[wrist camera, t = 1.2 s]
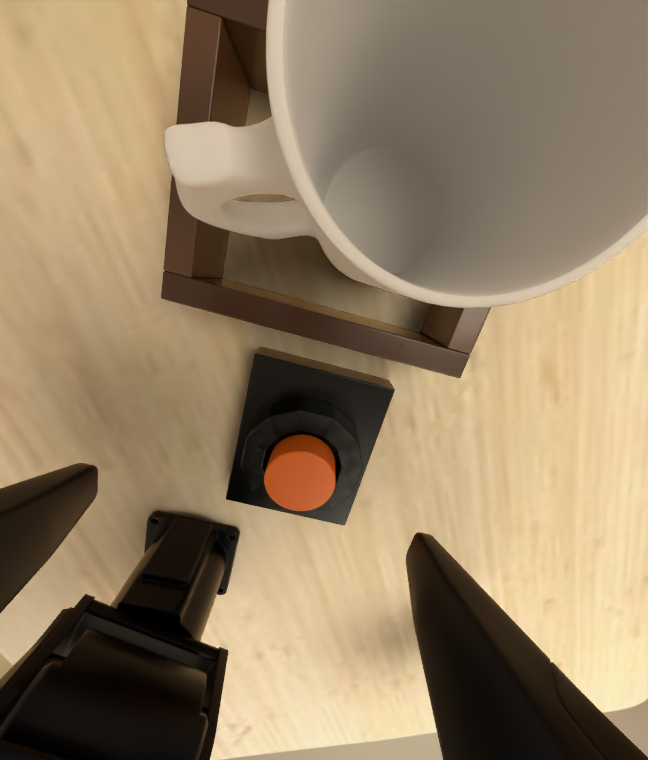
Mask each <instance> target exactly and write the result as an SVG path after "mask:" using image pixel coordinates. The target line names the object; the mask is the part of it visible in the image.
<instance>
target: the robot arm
mask: <svg viewBox="0 0 648 760" xmlns="http://www.w3.org/2000/svg"><path fill="white" fill-rule="evenodd" d="M97 490H98V469H97V467H96V466H94V465H89V464H85V463H78V464H74V465H71V466H68V467H65V468H62V469H59V470H56V471H53V472H50V473H47V474H44V475H41V476H37V477H34V478H31V479H28V480H25V481H22V482H19V483H16V484H13V485H10V486H7V487H4V488H1V489H0V613H1V612H2V611H3V610H4V608H5V607H6V606H7V605H8V604H9V603H10V602H11V601H12V600H13V598H14V597H15V596H16V595H17V594H18V593H19V592H20V591H21V590H22V588H23V587H24V586H25V585H26V584H27V583H28V582H29V581H30V580H31V578H32V577H33V576H34V575H35V574H36V573H37V572H38V571H39V569H40V568H41V567H42V566H43V565H44V564H45V563H46V562H47V560H48V559H49V558H50V557H51V556H52V554H53V553H54V552H55V551H56V549H57V548H58V547H59V546H60V544H61V543H62V542H63V540H64V539H65V538H66V536H67V535H68V534H69V532H70V531H71V530H72V528H73V527H74V526H75V524H76V523H77V522H78V520H79V519H80V518H81V516H82V515H83V514H84V512H85V511H86V510H87V508H88V507H89V506H90V504H91V503H92V502H93V500H94V499H95V497H96V495H97ZM232 535H233V536H232ZM239 535H240V532H239V530H237V529H236V528H232V527H227V526H223V525H218V524H213V523H209V522H204V521H199V520H195V519H190V518H185V517H181V516H176V515H171V514H167V513H162V512H153V513H152V514H151V515H150V516H149V518H148V522H147V532H146V543H145V553H144V556H143V557H142V559H141V560H140V562H139V563H138V565H137V566H136V568H135V569H134V571H133V572H132V574H131V575H130V577H129V578H128V580H127V581H126V583H125V584H124V586H123V587H122V589H121V590H120V592H119V593H118V595H117V596H116V598H115V600H114V601H113V603H112V604H111V606H109V605H107V604H104V603H102V602H99V601H97V600H94V599H95V597H92V596H90V595H87V594H85V595H84V596H83V598H82V599H81V600H80V601H79V602H78V604H77V605H76V606H75V607H74V608H71V607H70V608H69V609H63V610H62V611H61V612H60V614H59V615H58V616H57V617H56V619H55V620H54V621H53V622H52V624H51V625H50V626H49V627H48V629H47V630H46V631H45V632H44V634H43V635H42V636H41V637H40V638H39V640H38V641H37V642H36V643H35V644H34V645H33V646H32V648H31V649H30V650H29V651H28V652H27V653H26V654H25V655H24V656H23V657H22V658H21V659H20V660H19V661H18V662H17V663H16V664H15V665H14V666H13V667H12V668H11V669H10V670H9V671H8V672H7V673H6V674H5V675H4V676H3V677H2V678H1V679H0V760H210V756H211V752H212V748H213V744H214V739H215V734H216V728H217V721H218V715H219V708H220V702H221V695H222V689H223V682H224V676H225V669H226V663H227V656H228V650H226V649H224V648H221V647H219V649H218V648H215V647H213V646H210V645H208V644H205V643H203V642H200V640H201V637H202V634H203V632H204V629H205V626H206V623H207V620H208V617H209V614H210V612H211V609H212V606H213V603H214V600H215V597H216V594H218V595H223V594H225V593H226V591H227V588H228V584H229V579H230V575H231V571H232V566H233V562H234V557H235V553H236V549H237V544H238V540H239ZM406 566H407V574H408V582H409V590H410V598H411V607H412V614H413V621H414V626H415V631H416V636H417V641H418V645H419V650H420V655H421V659H422V664H423V669H424V673H425V678H426V682H427V687H428V692H429V696H430V701H431V706H432V710H433V715H434V719H435V724H436V729H437V733H438V738H439V742H440V747H441V752H442V756H443V760H648V757H647V756H646V755H645V754H644V753H643V752H641V750H639V749H638V748H637V747H636V746H635V745H634V744H633V743H632V742H631V741H630V740H629V739H628V738H627V737H626V736H625V735H624V734H623V733H622V732H621V731H620V730H619V729H618V728H617V727H616V726H615V725H614V724H613V723H612V722H611V721H610V720H609V719H608V718H607V717H606V716H605V715H604V714H603V713H602V712H601V711H600V710H599V709H598V708H597V707H596V706H595V705H594V704H593V703H592V702H591V701H590V700H589V699H588V698H587V697H586V696H585V695H584V694H583V693H582V692H581V691H580V690H579V689H578V688H577V687H576V686H575V685H574V684H573V683H572V682H571V681H570V680H569V679H568V678H567V677H566V676H565V675H564V673H563V672H562V671H561V670H560V669H559V668H558V667H557V666H556V665H555V664H554V663H553V662H550V659H549V658H548V657H547V656H546V655H545V654H544V653H543V652H542V651H541V649H540V648H539V647H538V646H537V645H536V644H535V643H534V642H533V641H532V640H531V639H530V638H529V637H528V636H527V635H526V634H525V633H524V632H523V631H522V630H521V629H520V627H519V626H518V625H517V624H516V623H515V622H514V621H513V620H512V619H511V618H510V617H509V616H508V615H507V614H506V613H505V612H504V611H503V610H502V609H501V608H500V606H499V605H498V604H497V603H496V602H495V601H494V600H493V599H492V598H491V597H490V596H489V595H488V594H487V593H486V592H485V591H484V590H483V589H482V588H481V587H480V586H479V584H478V583H477V582H476V581H475V580H474V579H473V578H472V577H471V576H470V575H469V574H468V573H467V572H466V571H465V570H464V569H463V568H462V567H461V566H460V565H459V564H458V562H457V561H456V560H455V559H454V558H453V557H452V556H451V555H450V554H449V553H448V552H447V551H446V550H445V549H444V548H443V547H442V546H441V545H440V544H439V543H438V542H437V540H436V539H435V538H434V537H433V536H431V535H429V534H425V533H420V532H418V533H416V534H415V536H414V538H413V540H412V542H411V545H410V547H409V549H408V551H407V555H406Z"/></svg>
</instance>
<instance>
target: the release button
mask: <svg viewBox="0 0 648 760" xmlns="http://www.w3.org/2000/svg"><path fill="white" fill-rule="evenodd" d="M264 484H265V488H266V491H267V493H268V494H269V496H270V497H271V498H272V500H273V501H275V502H276V503H277V504H278V505H280V506H282V507H284V508H286V509H290V510H294V511H308V510H312V509H315V508H318V507H320V506H321V505H323V504H324V503H325V502H327V501H328V500H329V498H330V497H331V495H332V494H333V492H334V489H335V484H336V477H335V459H334V455H333V453H332V451H331V449H330V448H329V447H328V446H327V444H326V443H324V442H323V441H322V440H320V439H318V438H316V437H314V436H310V435H303V434H300V435H293V436H289V437H287V438H285V439H283V440H281V441H280V442H279V443H278V444H277V445H276V446H275V447H274V449H273V451H272V453H271V456H270V459H269V462H268V465H267V468H266V471H265V475H264Z"/></svg>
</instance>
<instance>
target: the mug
mask: <svg viewBox="0 0 648 760" xmlns="http://www.w3.org/2000/svg"><path fill="white" fill-rule="evenodd" d="M266 71H267V84H268V94H269V102H270V108H271V113H272V116H271V117H270V118H268V119H266V120H264V121H263V122H261V123H258V124H254V125H251V126H243V127H233V126H229V125H227V124H224V123H219V122H201V123H192V124H179V125H172V126H170V127H168V128H167V129H166V131H165V134H164V147H165V152H166V157H167V160H168V164H169V167H170V170H171V172H172V174H173V176H174V178H175V182H176V187H177V192H178V195H179V198H180V201H181V203H182V205H183V207H184V208H185V209H186V210H187V211H188V212H189V213H190V214H191V215H192V216H193V217H195V218H197V219H199V220H201V221H203V222H205V223H208V224H210V225H213V226H216V227H219V228H222V229H226V230H229V231H233V232H237V233H242V234H246V235H251V236H256V237H261V238H266V239H282V238H288V237H296V236H313V237H315V238H316V239H317V240H318V241H319V243H320V245H321V247H322V249H323V251H324V253H325V254H326V256H327V257H328V259H329V260H330V262H331V263H332V264H333V265H334V266H335V267H336V268H337V269H338V270H339V271H340V272H342V273H343V274H345V275H346V276H348V277H349V278H351V279H353V280H356V281H359V282H362V283H365V284H368V285H371V286H374V287H377V288H380V289H383V290H386V291H389V292H392V293H396V294H399V295H403V296H406V297H409V298H412V299H415V300H418V301H422V302H426V303H430V304H435V305H440V306H447V307H456V308H485V307H495V306H502V305H508V304H513V303H518V302H522V301H526V300H529V299H533V298H536V297H539V296H542V295H545V294H547V293H550V292H552V291H555V290H557V289H560V288H562V287H564V286H566V285H568V284H570V283H572V282H574V281H576V280H578V279H580V278H582V277H584V276H586V275H587V274H589V273H591V272H592V271H594V270H596V269H597V268H599V267H600V266H602V265H603V264H605V263H606V262H608V261H609V260H611V259H612V258H613V257H615V256H616V255H617V254H619V253H620V252H621V251H623V250H624V249H625V248H627V247H628V246H629V245H630V244H631V243H633V242H634V241H635V240H636V239H637V238H638V237H640V236H641V235H642V234H643V233H644V232H645V231H646V230H647V229H648V0H269V2H268V13H267V27H266ZM255 194H278V195H285V196H288V197H291V198H294V199H295V200H290V201H282V202H245V201H238V200H235V198H238V197H243V196H248V195H255Z"/></svg>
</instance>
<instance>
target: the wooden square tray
mask: <svg viewBox="0 0 648 760" xmlns="http://www.w3.org/2000/svg"><path fill="white" fill-rule="evenodd" d="M268 2H269V0H187V5H188V6H187V12H186V24H185V35H184V46H183V57H182V69H181V80H180V91H179V102H178V114H177V125H179V124H192V123H201V122H219V123H224V124H227V125H229V126H233V127H243V126H245V121H246V115H247V108H248V101H249V95H250V88H253V89H256V90H259V91H262V92H265V93H268V84H267V71H266V27H267V13H268ZM228 235H229V230H226V229H222V228H219V227H216V226H213V225H210V224H208V223H205V222H203V221H201V220H199V219H197V218H195V217H193V216H192V215H191V214H190V213H189V212H188V211H187V210H186V209H185V208H184V207H183V205H182V203H181V201H180V198H179V195H178V192H177V187H176V182H175V178H174V176H173V174H172V181H171V192H170V203H169V215H168V226H167V237H166V248H165V260H164V270H165V271H164V272H163V283H162V295H161V298H162V299H164V300H168V301H172V302H176V303H179V304H183V305H187V306H191V307H194V308H198V309H202V310H206V311H209V312H213V313H217V314H221V315H224V316H228V317H232V318H235V319H239V320H243V321H247V322H250V323H254V324H258V325H262V326H265V327H269V328H273V329H277V330H280V331H284V332H288V333H292V334H295V335H299V336H303V337H307V338H310V339H314V340H318V341H322V342H325V343H329V344H333V345H337V346H340V347H344V348H348V349H351V350H355V351H359V352H363V353H366V354H370V355H374V356H378V357H381V358H385V359H389V360H393V361H396V362H400V363H404V364H408V365H411V366H415V367H419V368H423V369H426V370H430V371H434V372H438V373H441V374H445V375H449V376H453V377H456V378H460V377H461V375H462V372H463V370H464V368H465V366H466V363H467V361H468V359H469V356H470V355H469V354H470V353H471V352H472V349H473V347H474V345H475V343H476V340H477V338H478V336H479V333H480V331H481V329H482V327H483V324H484V322H485V320H486V317H487V315H488V313H489V311H490V308H491V307H485V308H456V307H447V306H440V305H435V304H432V305H431V307H430V310H429V313H428V315H427V318H426V321H425V324H424V326H423V329H422V332H421V333H418V332H414V331H411V330H407V329H404V328H400V327H396V326H393V325H389V324H385V323H382V322H378V321H375V320H371V319H367V318H364V317H360V316H357V315H353V314H349V313H346V312H342V311H338V310H335V309H331V308H328V307H324V306H320V305H317V304H313V303H310V302H306V301H302V300H299V299H295V298H291V297H288V296H284V295H281V294H277V293H273V292H270V291H266V290H262V289H259V288H255V287H252V286H248V285H244V284H241V283H237V282H234V281H230V280H226V279H223V278H222V275H223V268H224V262H225V255H226V248H227V242H228Z"/></svg>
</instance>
